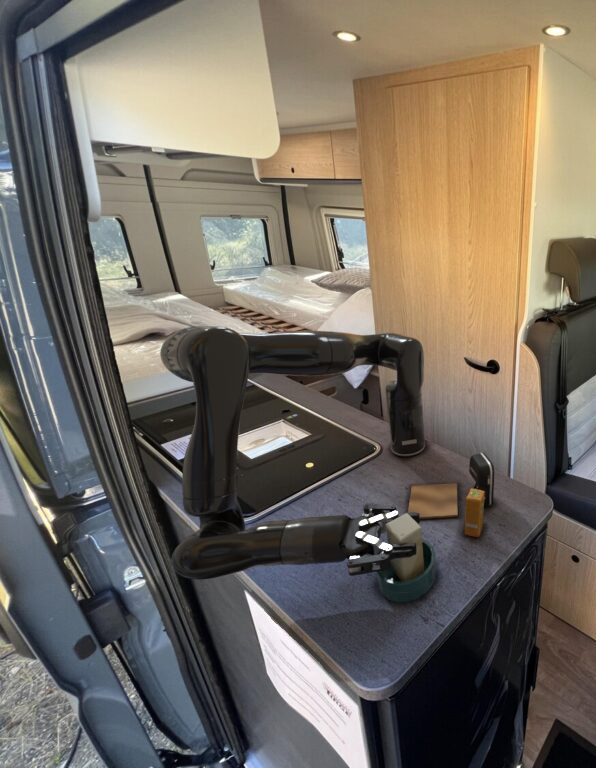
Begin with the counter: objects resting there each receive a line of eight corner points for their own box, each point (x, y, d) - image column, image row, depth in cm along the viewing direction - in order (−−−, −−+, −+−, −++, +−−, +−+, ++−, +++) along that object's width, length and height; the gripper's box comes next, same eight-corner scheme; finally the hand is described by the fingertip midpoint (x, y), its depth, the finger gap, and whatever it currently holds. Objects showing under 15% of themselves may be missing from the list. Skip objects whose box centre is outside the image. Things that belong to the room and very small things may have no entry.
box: (425, 572, 72) (422, 528, 67) (404, 586, 69) (400, 541, 64) (410, 555, 75) (406, 511, 70) (389, 567, 72) (384, 523, 67)
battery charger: (467, 492, 94) (467, 452, 90) (481, 487, 96) (482, 449, 91) (479, 510, 89) (479, 469, 84) (494, 505, 90) (495, 465, 86)
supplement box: (480, 538, 81) (480, 500, 77) (464, 535, 82) (464, 497, 78) (484, 526, 84) (484, 490, 80) (469, 523, 85) (468, 487, 81)
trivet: (411, 487, 95) (411, 485, 95) (457, 485, 96) (457, 483, 96) (407, 520, 85) (407, 518, 85) (457, 516, 87) (457, 514, 86)
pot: (383, 556, 76) (380, 539, 74) (436, 551, 78) (436, 535, 76) (373, 605, 67) (370, 587, 65) (434, 599, 68) (433, 581, 66)
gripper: (298, 559, 58) (413, 550, 60) (326, 493, 71) (420, 488, 73) (307, 593, 61) (416, 583, 63) (332, 524, 74) (421, 519, 76)
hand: (417, 532), depth 68 cm, fingers closed on box, 6 cm apart
